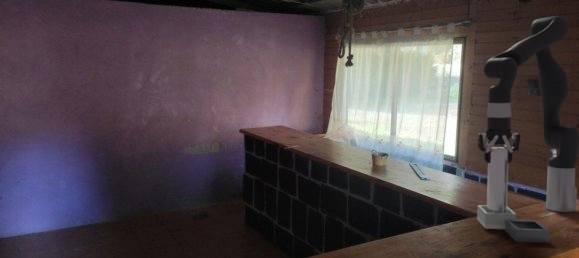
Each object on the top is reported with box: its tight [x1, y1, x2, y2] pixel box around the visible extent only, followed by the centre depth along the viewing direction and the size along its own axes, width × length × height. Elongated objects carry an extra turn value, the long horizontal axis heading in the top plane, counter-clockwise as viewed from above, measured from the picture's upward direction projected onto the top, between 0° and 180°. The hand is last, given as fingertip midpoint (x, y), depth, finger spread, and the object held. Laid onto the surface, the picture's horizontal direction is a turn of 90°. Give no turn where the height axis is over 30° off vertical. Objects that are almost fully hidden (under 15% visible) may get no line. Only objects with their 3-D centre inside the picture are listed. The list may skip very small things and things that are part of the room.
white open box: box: [476, 204, 517, 230], centre depth 156 cm, size 10×10×6 cm
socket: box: [504, 219, 551, 244], centre depth 143 cm, size 10×10×4 cm
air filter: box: [486, 146, 509, 213], centre depth 155 cm, size 6×6×25 cm
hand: (497, 162), depth 154 cm, fingers closed on air filter, 6 cm apart
